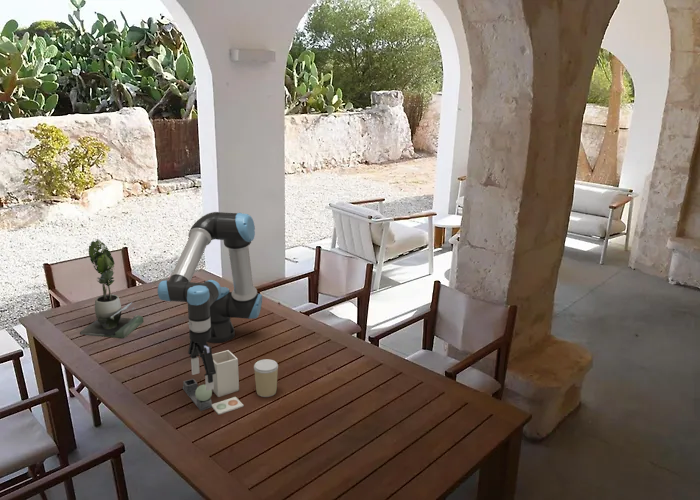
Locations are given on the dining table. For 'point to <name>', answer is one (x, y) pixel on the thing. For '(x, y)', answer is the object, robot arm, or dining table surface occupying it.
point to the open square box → (225, 373)
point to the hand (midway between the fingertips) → (202, 381)
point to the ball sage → (203, 393)
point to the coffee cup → (266, 377)
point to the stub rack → (190, 389)
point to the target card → (227, 405)
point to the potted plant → (108, 300)
